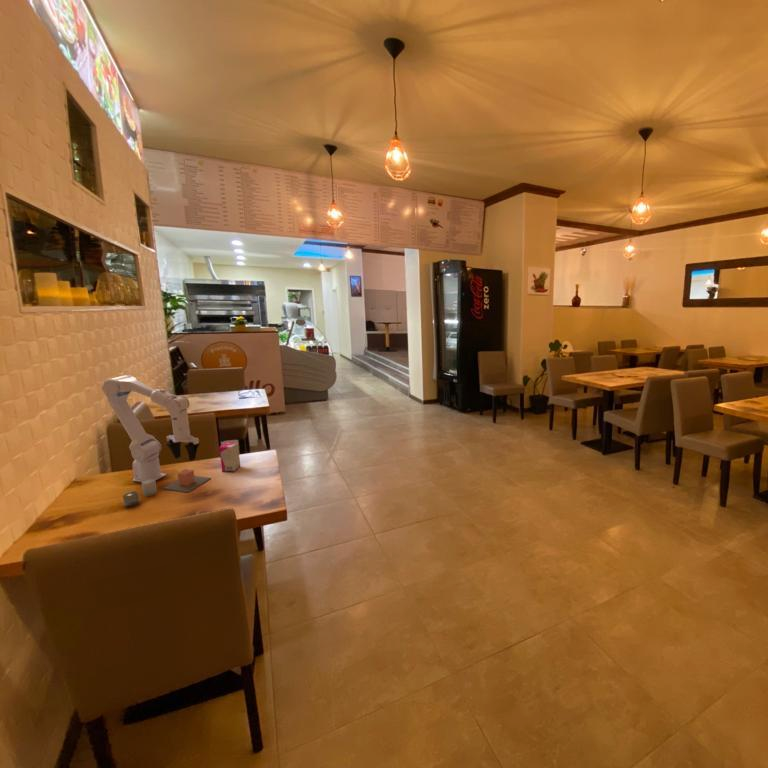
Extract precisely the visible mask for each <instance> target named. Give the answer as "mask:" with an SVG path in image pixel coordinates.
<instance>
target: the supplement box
mask: <svg viewBox="0 0 768 768" xmlns="http://www.w3.org/2000/svg"><path fill="white" fill-rule="evenodd" d="M219 455H220V456H219V457H220V463H221V464H220V465H221V466H220V467H221V472H222V473H235V472H236V471H237V470H238V469H239V468H241V460H240V459H241V458H240V449H239V442H225V443H224V444H222V445H220V446H219Z"/></svg>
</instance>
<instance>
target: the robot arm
mask: <svg viewBox="0 0 768 768" xmlns="http://www.w3.org/2000/svg"><path fill="white" fill-rule="evenodd" d="M101 390H102V391H103V393H104V394H105V396H106V398H107V402H108V403H109V405H110V407H111V409H112V410H113V412H114V413H115V415H116V417H117V418H118V420H119V421H120V423H121V425H122V427H123V428H124V430H125V431H126V433H127V434H128V437H129V438H130V440H131V442H130V444H129V446H128V449H129V450H130V452H131V453H130V454H131V457H132V458H133V462H132V471H133V477H134V478H133V479H132V481H133V482H139V483H142V482H143V481H145V480H147V479H155V481H156V482H157V480H159V479H162V478H164V477H166V476H167V473H163V472H162V471H161V465H160V459H159V455H160V452H161V451H162V444H161V443H160V442H159V440H157V439H156V438H155V436H154V435H152V434H149V433H147V432H146V430H145V429H144V426H143V425H142V424H141V422H140V420H139V419H138V417H137V416H136V414H135V412H134V411H133V409H132V407H131V406H130V404H129V402H128V401H127V399H128V397H129V395H130V394H131V393H132V392H135V393H137V394H140V395H142V396H145V397H147V398H150V400H151V402H152V403H154V404H155V405H156V404H157V405H159V406H161V407H164V408H165V409H166V411H167V412H168V414H169V417H170V418H171V425H172V432H173V434H169V435H167V436H166V442H167V443H166V446H167V447H168V448H169V450H170V451H171V452H172V455H173V457H174V459H176V460H177V459H179V458H180V457H181V455H182V453H181V445H182V443H185V445H184V448H185V449H186V452H187V455H188V459H189V461H190V462H192V461H195V459H196V456H197V451H198V447H199V446H200V443H201V442H200V439H199V438H198V437H194V436H193V435H191V430H190V422H189V416H188V414H189V413H188V409H189V408H190V401H189V399H188V398H187V397H186V396H184V395H176V394H172V393H170V392H168V391H166V389H164V388H158V389H154V388H153V387H151V386H148V385H147V384H145V383H143V382H141V381H140V380H138V379H137V377H135V376H132V375H130V374H124V375H121V376H120V375H119V376H116V377H112V378H106V379H105V380H104V381H103V384H102V386H101ZM187 443H188V444H187Z"/></svg>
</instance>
